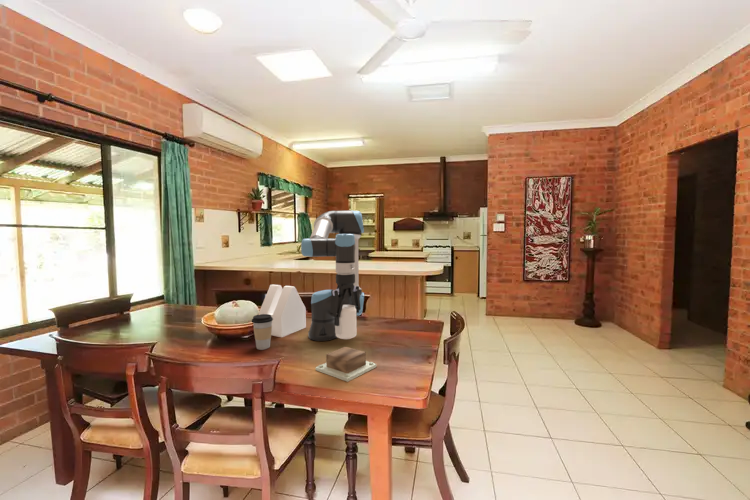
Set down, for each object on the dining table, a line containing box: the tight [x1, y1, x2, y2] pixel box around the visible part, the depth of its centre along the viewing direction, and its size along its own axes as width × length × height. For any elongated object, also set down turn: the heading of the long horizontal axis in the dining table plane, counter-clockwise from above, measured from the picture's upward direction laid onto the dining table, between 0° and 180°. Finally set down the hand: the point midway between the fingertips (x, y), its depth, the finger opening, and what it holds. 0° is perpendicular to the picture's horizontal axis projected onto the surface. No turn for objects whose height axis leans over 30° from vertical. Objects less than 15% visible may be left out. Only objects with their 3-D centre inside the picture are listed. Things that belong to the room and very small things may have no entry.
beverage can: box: [336, 305, 357, 340], centre depth 137 cm, size 8×8×12 cm
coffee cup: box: [251, 314, 273, 351], centre depth 162 cm, size 9×9×15 cm
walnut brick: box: [325, 346, 367, 374], centre depth 138 cm, size 11×11×5 cm
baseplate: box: [315, 360, 377, 383], centre depth 138 cm, size 17×17×2 cm
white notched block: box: [258, 284, 307, 338], centre depth 187 cm, size 19×15×25 cm
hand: (346, 331), depth 137 cm, fingers closed on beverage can, 8 cm apart
